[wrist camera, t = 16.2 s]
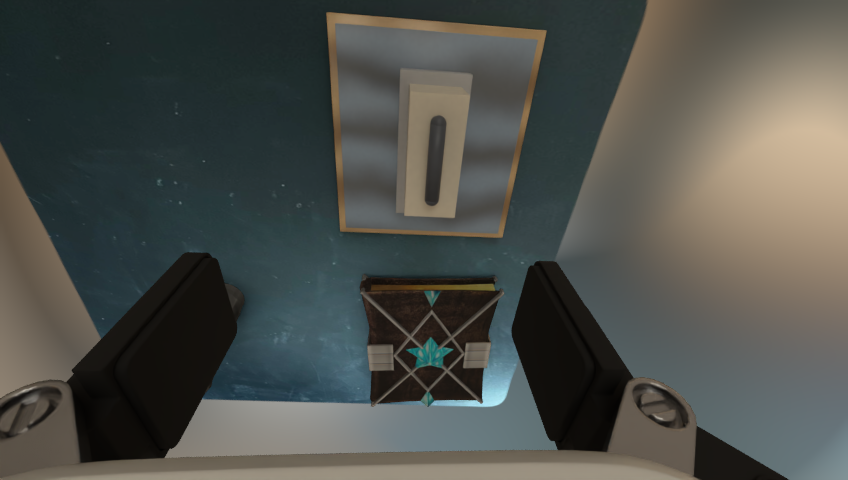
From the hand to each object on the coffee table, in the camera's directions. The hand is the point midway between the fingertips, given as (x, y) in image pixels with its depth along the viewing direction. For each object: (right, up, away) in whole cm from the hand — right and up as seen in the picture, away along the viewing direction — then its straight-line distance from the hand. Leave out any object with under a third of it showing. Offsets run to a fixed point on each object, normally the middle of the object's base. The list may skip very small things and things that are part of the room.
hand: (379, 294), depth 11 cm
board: (+2, +12, +24) cm, 26 cm away
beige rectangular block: (+2, +11, +22) cm, 25 cm away
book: (+2, -11, +38) cm, 39 cm away
